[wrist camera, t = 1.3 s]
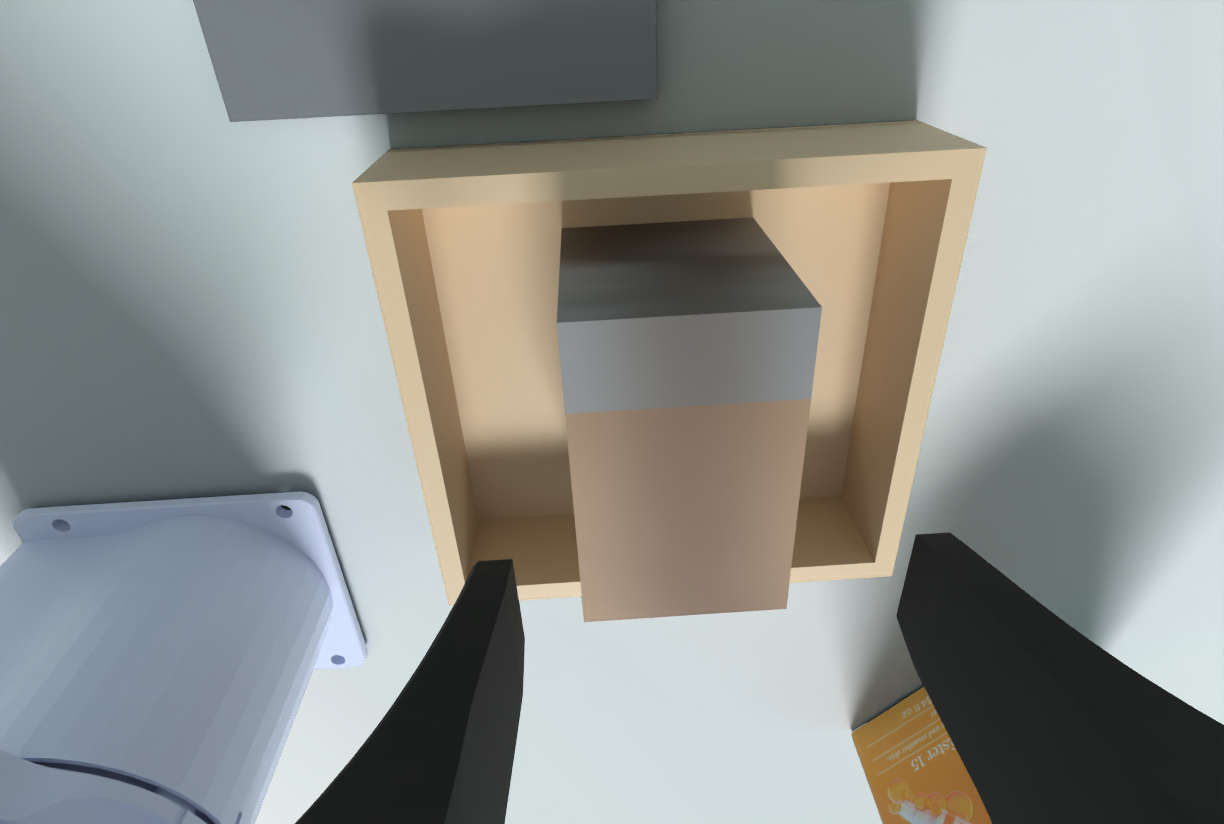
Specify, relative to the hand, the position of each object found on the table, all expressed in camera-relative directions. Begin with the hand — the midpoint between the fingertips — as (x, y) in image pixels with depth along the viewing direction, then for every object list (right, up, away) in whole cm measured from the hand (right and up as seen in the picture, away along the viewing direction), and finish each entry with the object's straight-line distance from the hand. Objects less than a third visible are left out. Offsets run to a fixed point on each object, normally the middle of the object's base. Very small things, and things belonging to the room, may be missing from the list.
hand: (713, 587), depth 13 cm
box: (0, +5, +8) cm, 9 cm away
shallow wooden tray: (-1, +5, +8) cm, 9 cm away
